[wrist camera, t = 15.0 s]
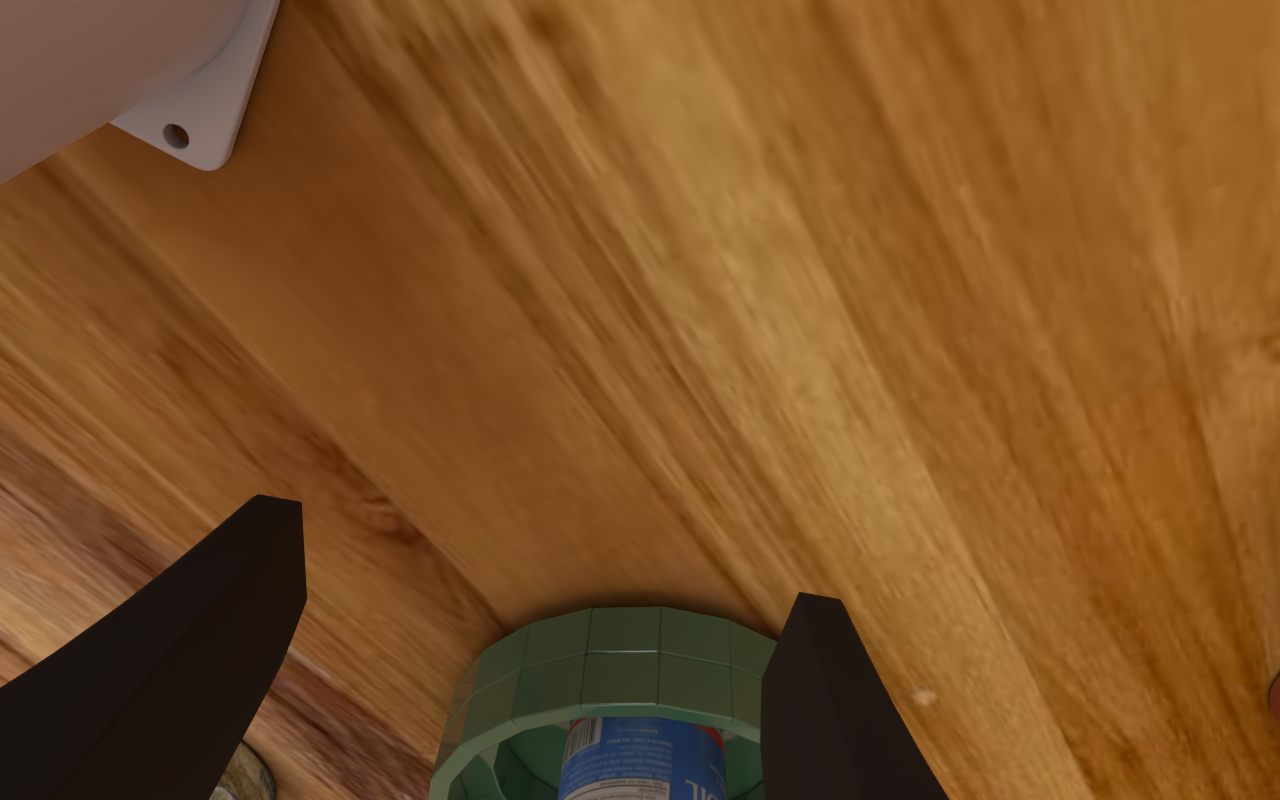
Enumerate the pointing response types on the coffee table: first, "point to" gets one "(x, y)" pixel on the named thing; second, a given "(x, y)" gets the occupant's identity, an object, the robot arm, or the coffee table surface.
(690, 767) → the pill bottle
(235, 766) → the seashell
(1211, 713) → the coffee table surface
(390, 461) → the coffee table surface
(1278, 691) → the alarm clock
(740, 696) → the bowl
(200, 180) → the coffee table surface
